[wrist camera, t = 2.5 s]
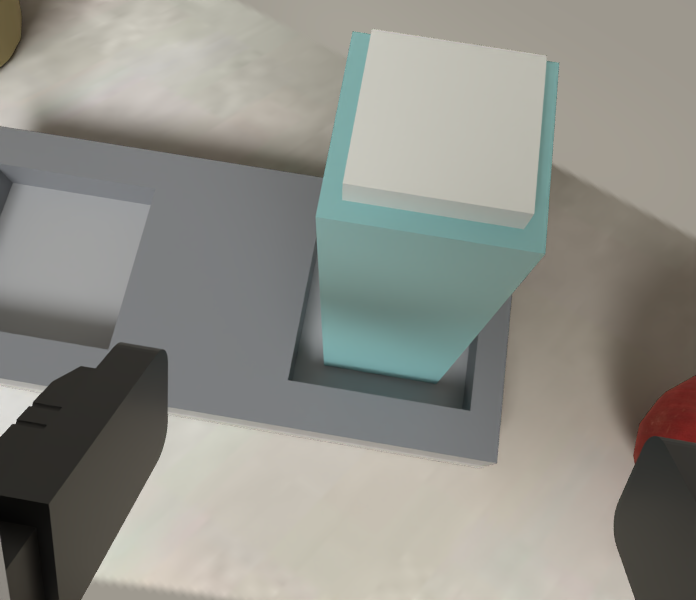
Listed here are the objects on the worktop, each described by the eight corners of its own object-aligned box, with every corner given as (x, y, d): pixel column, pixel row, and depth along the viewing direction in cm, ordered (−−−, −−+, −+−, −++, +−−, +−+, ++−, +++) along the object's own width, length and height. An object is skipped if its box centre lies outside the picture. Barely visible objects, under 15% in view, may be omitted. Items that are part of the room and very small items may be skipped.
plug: (323, 365, 22) (314, 200, 10) (346, 241, 24) (360, -26, 12) (435, 383, 22) (557, 240, 10) (451, 259, 24) (572, 6, 12)
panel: (-69, 374, 23) (-116, 358, 21) (12, 158, 26) (-20, 122, 23) (479, 467, 22) (496, 463, 20) (501, 237, 25) (519, 209, 23)
